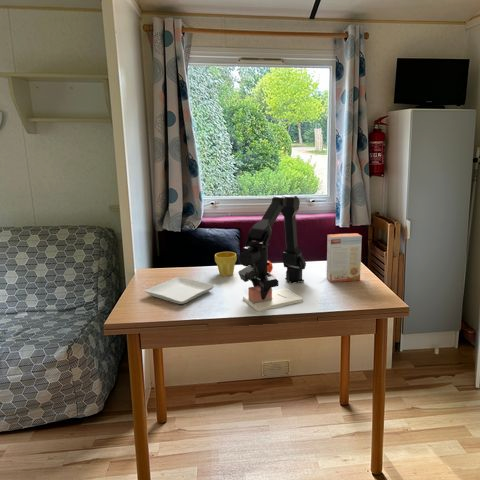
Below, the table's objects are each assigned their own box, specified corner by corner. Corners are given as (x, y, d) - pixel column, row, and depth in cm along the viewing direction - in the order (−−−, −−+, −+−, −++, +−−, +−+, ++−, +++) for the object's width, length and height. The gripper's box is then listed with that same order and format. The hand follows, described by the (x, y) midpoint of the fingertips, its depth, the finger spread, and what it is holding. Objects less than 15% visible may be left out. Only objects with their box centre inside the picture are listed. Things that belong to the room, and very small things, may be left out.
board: (285, 290, 169) (285, 288, 169) (302, 301, 158) (302, 298, 157) (242, 299, 161) (242, 296, 161) (257, 311, 150) (257, 308, 149)
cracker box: (355, 276, 184) (357, 232, 179) (360, 281, 179) (362, 235, 173) (325, 278, 183) (327, 233, 178) (329, 282, 178) (331, 236, 173)
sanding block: (266, 295, 160) (266, 284, 159) (271, 299, 156) (271, 287, 155) (248, 299, 157) (248, 287, 156) (253, 303, 153) (253, 291, 152)
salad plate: (216, 291, 171) (215, 284, 170) (182, 309, 154) (182, 301, 153) (179, 282, 182) (178, 275, 181) (144, 298, 165) (143, 290, 164)
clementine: (259, 277, 186) (259, 263, 184) (253, 273, 192) (253, 259, 190) (275, 275, 188) (275, 260, 187) (268, 271, 195) (268, 257, 193)
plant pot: (211, 276, 189) (210, 256, 187) (220, 269, 198) (220, 250, 196) (231, 278, 185) (231, 258, 183) (240, 271, 194) (239, 252, 192)
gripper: (231, 256, 158) (232, 292, 162) (251, 269, 141) (252, 310, 145) (256, 252, 162) (256, 288, 166) (279, 264, 146) (279, 304, 150)
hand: (260, 297), depth 157 cm, fingers closed on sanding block, 4 cm apart
